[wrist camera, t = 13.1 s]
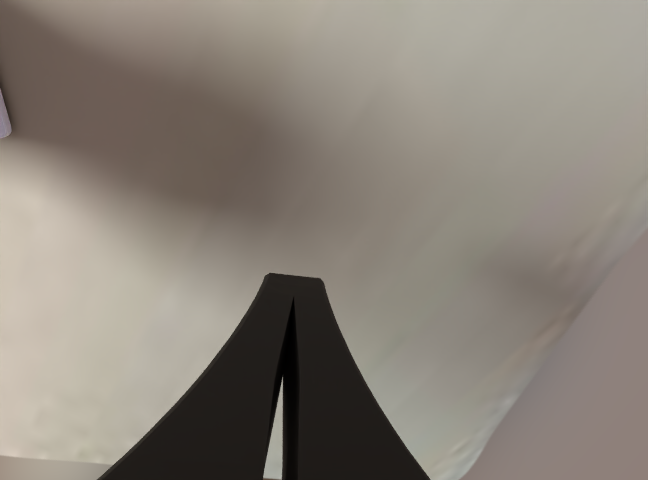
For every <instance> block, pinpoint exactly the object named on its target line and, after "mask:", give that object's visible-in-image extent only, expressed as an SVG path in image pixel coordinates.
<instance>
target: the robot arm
mask: <svg viewBox="0 0 648 480" xmlns="http://www.w3.org/2000/svg"><path fill="white" fill-rule="evenodd" d="M11 131H12V130H11V124H10V121H9V117H8V114H7V110H6V107H5V103H4V100H3V96H2V93H1V89H0V138H4V137H6V136H8V135H10V133H11ZM282 377H283V468H282V480H430V478H429V477H428V476H427V474H426V473H425V472H424V470H423V469H422V468H421V466H420V465H419V464H418V462H417V461H416V460H415V458H414V457H413V456H412V454H411V453H410V452H409V450H408V449H407V447H406V446H405V444H404V443H403V441H402V440H401V439H400V437H399V436H398V434H397V433H396V431H395V430H394V428H393V427H392V425H391V424H390V422H389V420H388V419H387V417H386V416H385V414H384V412H383V411H382V409H381V408H380V406H379V405H378V403H377V401H376V399H375V398H374V396H373V394H372V393H371V391H370V389H369V387H368V386H367V384H366V382H365V380H364V378H363V376H362V374H361V373H360V371H359V369H358V367H357V365H356V363H355V361H354V359H353V357H352V355H351V353H350V351H349V349H348V347H347V344H346V342H345V340H344V338H343V335H342V333H341V331H340V329H339V326H338V324H337V322H336V319H335V316H334V314H333V311H332V308H331V306H330V303H329V300H328V297H327V293H326V290H325V285H324V282H323V281H322V280H321V279H320V278H311V277H302V276H293V275H284V274H275V273H269V274H267V275H266V276H265V277H264V280H263V283H262V285H261V287H260V289H259V291H258V293H257V295H256V297H255V299H254V301H253V302H252V304H251V306H250V307H249V309H248V311H247V312H246V314H245V315H244V317H243V318H242V320H241V321H240V323H239V325H238V326H237V328H236V329H235V331H234V332H233V334H232V335H231V336H230V338H229V339H228V341H227V342H226V343H225V345H224V346H223V347H222V348H221V350H220V351H219V352H218V354H217V355H216V356H215V358H214V359H213V360H212V362H211V363H210V364H209V366H208V367H207V368H206V369H205V370H204V372H203V373H202V374H201V375H200V376H199V378H198V379H197V380H196V381H195V382H194V384H193V385H192V386H191V387H190V388H189V389H188V390H187V391H186V393H185V394H184V395H183V396H182V397H181V398H180V399H179V400H178V402H177V403H176V404H175V405H174V406H173V407H172V408H171V409H170V410H169V411H168V412H167V413H166V414H165V415H164V416H163V417H162V418H161V419H160V420H159V421H158V422H157V423H156V424H155V426H154V427H153V428H152V429H151V430H150V431H149V432H148V433H147V434H146V435H145V436H144V437H143V438H142V439H141V440H140V441H139V442H138V443H137V444H136V445H134V446H133V447H132V448H131V449H130V450H129V451H128V452H127V453H126V454H125V455H124V456H123V457H122V458H121V459H119V460H118V461H117V462H116V463H115V464H114V465H113V466H112V467H111V468H110V469H108V470H107V471H106V472H105V473H104V474H103V475H102V476H101V477H100V478H98V479H97V480H263V474H264V468H265V463H266V458H267V452H268V447H269V442H270V437H271V432H272V427H273V422H274V417H275V412H276V407H277V402H278V397H279V392H280V387H281V382H282Z"/></svg>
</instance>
